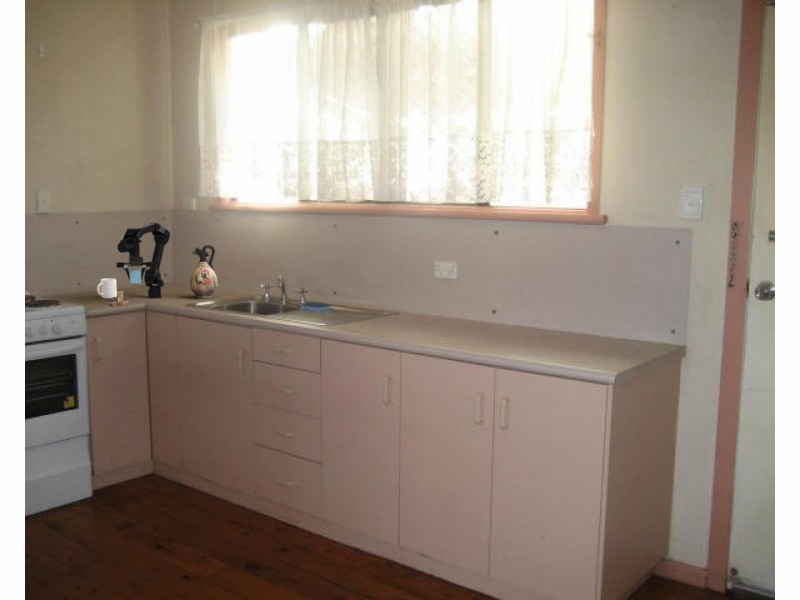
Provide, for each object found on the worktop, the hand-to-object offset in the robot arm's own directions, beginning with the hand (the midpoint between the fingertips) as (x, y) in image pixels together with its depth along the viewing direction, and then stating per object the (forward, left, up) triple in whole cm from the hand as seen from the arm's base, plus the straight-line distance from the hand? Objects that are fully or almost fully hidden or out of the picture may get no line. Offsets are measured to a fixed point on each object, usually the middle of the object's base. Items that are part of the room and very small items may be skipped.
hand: (135, 280), depth 432 cm
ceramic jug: (-37, -3, -12) cm, 39 cm away
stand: (+8, +11, -12) cm, 18 cm away
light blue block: (0, 0, -1) cm, 1 cm away
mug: (+16, -19, -12) cm, 28 cm away
